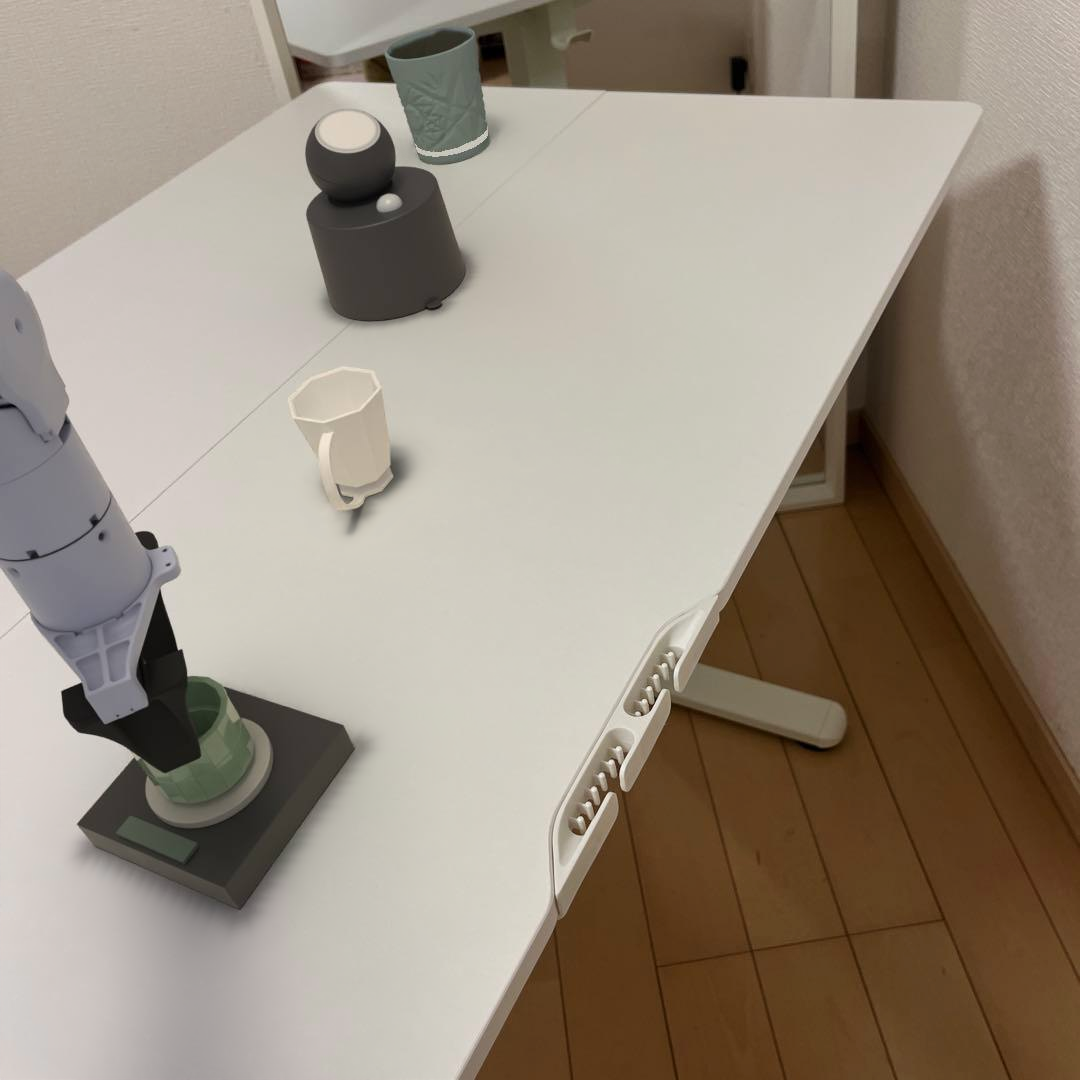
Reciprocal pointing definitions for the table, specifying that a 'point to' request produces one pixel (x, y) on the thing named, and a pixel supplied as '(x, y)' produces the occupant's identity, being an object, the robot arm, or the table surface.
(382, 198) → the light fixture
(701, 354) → the table surface
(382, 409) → the cup
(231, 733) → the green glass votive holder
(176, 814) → the scale
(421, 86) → the green embossed plant pot
